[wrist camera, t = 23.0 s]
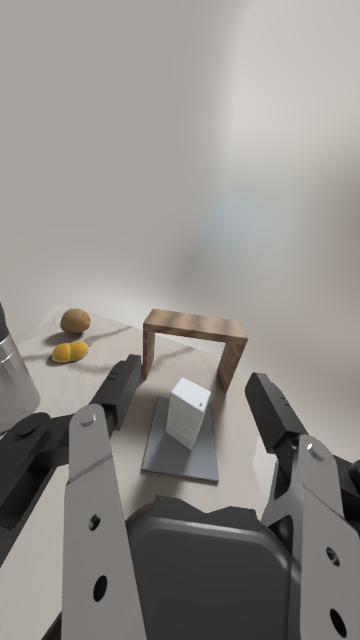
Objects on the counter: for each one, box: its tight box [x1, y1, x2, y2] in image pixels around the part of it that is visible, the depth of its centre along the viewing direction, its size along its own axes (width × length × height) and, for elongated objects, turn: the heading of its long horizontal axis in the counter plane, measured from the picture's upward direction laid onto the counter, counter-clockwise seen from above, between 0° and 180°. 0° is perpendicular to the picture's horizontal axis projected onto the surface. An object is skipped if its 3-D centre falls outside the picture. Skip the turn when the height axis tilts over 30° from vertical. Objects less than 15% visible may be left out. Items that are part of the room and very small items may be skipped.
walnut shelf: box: [143, 309, 248, 391], centre depth 40 cm, size 24×9×18 cm, turn 86°
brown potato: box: [60, 309, 90, 334], centre depth 53 cm, size 9×9×10 cm
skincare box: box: [166, 377, 211, 451], centre depth 27 cm, size 6×4×12 cm
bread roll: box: [52, 341, 88, 363], centre depth 45 cm, size 8×9×4 cm
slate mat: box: [142, 397, 219, 482], centre depth 30 cm, size 13×13×1 cm
